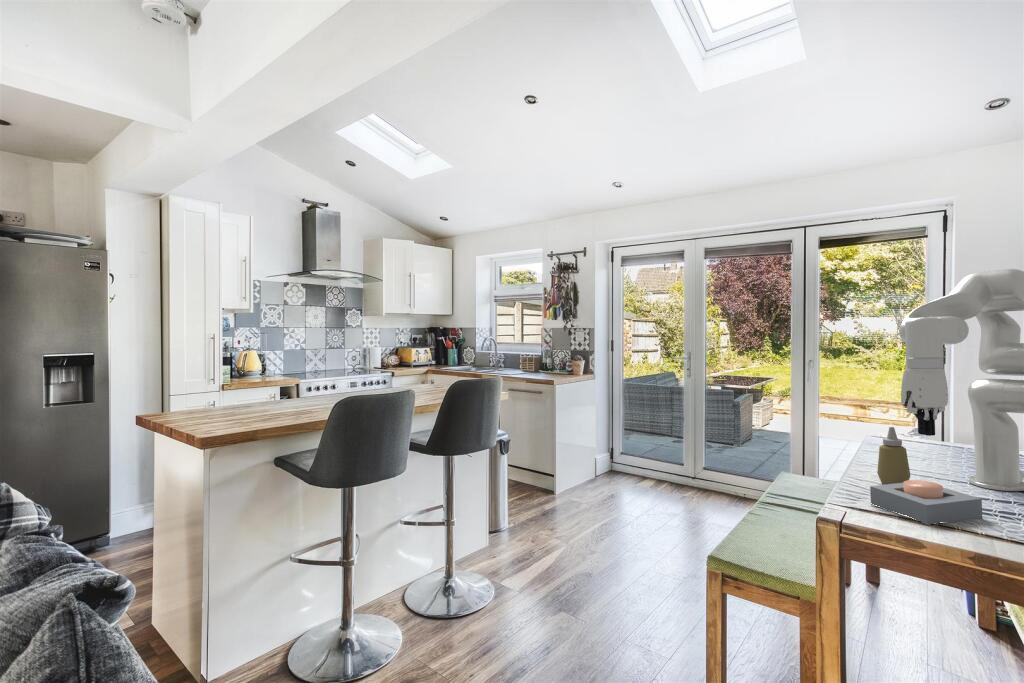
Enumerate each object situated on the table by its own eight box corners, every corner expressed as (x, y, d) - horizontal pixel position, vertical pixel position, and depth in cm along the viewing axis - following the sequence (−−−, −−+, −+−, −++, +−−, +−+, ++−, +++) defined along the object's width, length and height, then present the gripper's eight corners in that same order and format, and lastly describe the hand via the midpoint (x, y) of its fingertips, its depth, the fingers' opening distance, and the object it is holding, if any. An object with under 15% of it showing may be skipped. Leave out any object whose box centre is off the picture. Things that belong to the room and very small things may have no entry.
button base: (920, 498, 140) (919, 480, 140) (982, 518, 124) (981, 498, 124) (870, 504, 138) (870, 486, 138) (927, 525, 122) (926, 505, 122)
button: (921, 497, 135) (921, 478, 135) (952, 506, 128) (951, 487, 127) (896, 500, 134) (895, 481, 134) (925, 510, 126) (924, 490, 126)
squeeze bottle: (897, 491, 146) (895, 430, 146) (871, 484, 154) (868, 426, 154) (918, 488, 149) (915, 428, 148) (890, 481, 156) (888, 423, 156)
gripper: (933, 363, 135) (935, 430, 135) (887, 365, 132) (889, 434, 132) (963, 364, 128) (965, 435, 128) (914, 366, 125) (916, 439, 125)
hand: (926, 434), depth 130 cm, fingers closed
